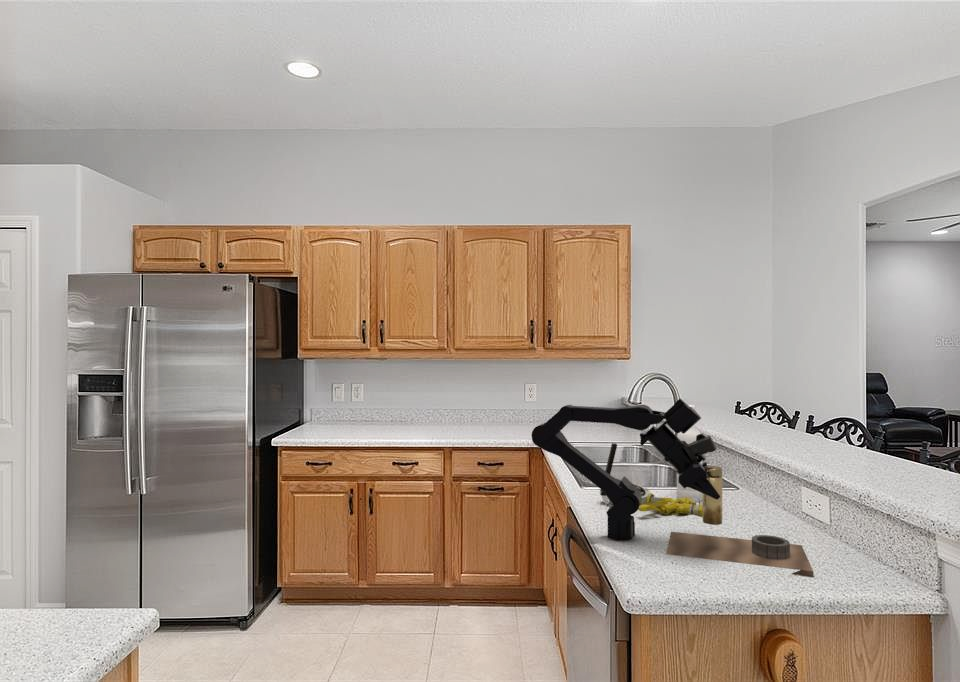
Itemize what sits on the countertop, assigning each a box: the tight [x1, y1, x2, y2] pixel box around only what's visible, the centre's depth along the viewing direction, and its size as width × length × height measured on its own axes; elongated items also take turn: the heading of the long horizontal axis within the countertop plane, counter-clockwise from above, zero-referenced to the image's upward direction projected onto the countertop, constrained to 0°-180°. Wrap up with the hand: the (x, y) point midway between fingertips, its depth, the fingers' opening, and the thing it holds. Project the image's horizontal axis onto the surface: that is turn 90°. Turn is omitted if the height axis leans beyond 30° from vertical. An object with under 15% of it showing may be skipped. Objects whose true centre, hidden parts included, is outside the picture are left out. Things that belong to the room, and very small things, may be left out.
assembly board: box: [665, 531, 814, 578], centre depth 143 cm, size 30×18×4 cm, turn 69°
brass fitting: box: [702, 465, 723, 526], centre depth 145 cm, size 4×4×13 cm
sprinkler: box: [637, 493, 703, 518], centre depth 177 cm, size 22×6×20 cm
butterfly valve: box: [599, 442, 653, 506], centre depth 188 cm, size 9×20×17 cm
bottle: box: [676, 404, 703, 503], centre depth 195 cm, size 8×8×30 cm
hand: (718, 495), depth 144 cm, fingers closed on brass fitting, 4 cm apart
